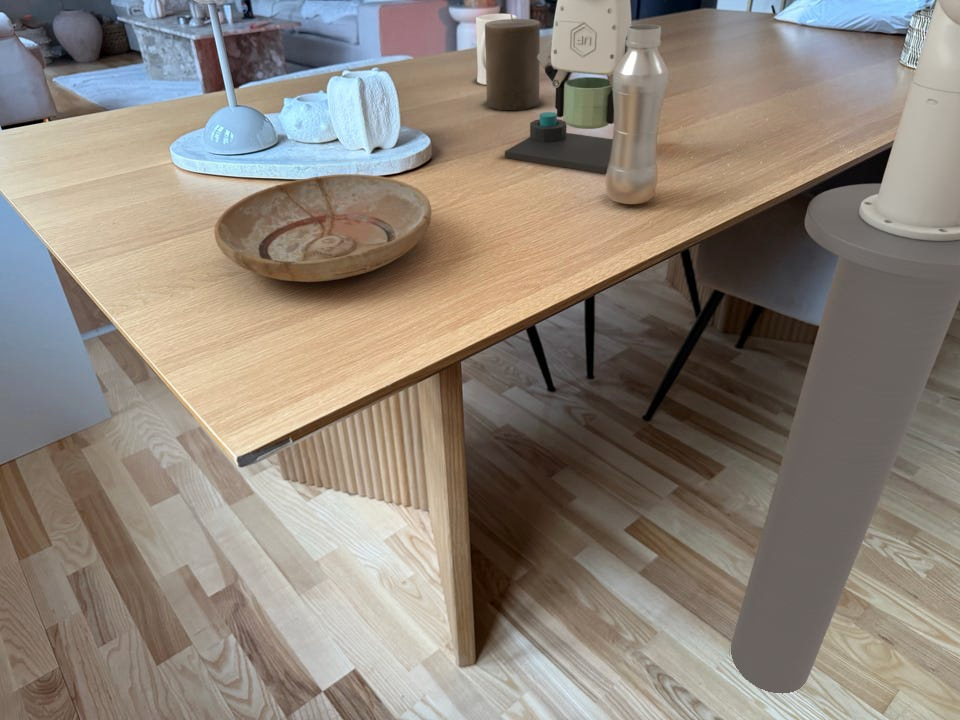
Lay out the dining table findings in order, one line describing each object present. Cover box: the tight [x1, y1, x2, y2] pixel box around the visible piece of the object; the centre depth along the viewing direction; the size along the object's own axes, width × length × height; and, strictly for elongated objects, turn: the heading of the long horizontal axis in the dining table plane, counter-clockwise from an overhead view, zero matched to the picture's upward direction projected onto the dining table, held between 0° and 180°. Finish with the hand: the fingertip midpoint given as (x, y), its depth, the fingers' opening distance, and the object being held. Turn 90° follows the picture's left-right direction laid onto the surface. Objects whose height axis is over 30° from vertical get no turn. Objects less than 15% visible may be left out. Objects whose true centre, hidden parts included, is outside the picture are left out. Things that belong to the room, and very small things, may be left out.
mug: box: [475, 13, 518, 86], centre depth 140 cm, size 12×8×12 cm
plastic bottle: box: [604, 23, 669, 205], centre depth 83 cm, size 6×7×20 cm
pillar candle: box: [485, 14, 541, 111], centre depth 124 cm, size 10×10×15 cm
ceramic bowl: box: [213, 173, 432, 283], centre depth 77 cm, size 23×24×5 cm
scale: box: [504, 118, 613, 175], centre depth 103 cm, size 16×12×3 cm
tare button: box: [539, 111, 558, 127], centre depth 107 cm, size 3×3×2 cm
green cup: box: [562, 76, 612, 130], centre depth 99 cm, size 7×7×6 cm
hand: (588, 117), depth 100 cm, fingers closed on green cup, 7 cm apart
